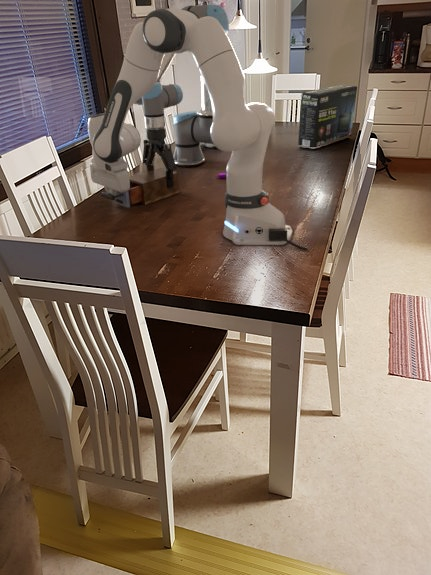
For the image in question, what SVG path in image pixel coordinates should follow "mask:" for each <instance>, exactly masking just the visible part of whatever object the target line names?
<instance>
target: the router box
mask: <svg viewBox="0 0 431 575" xmlns="http://www.w3.org/2000/svg"><path fill="white" fill-rule="evenodd" d="M357 93H358V86H356V85H350V84H339V85H338V84H337V85H334V86H328V87H324V88H318V89H314V90H309V91H304V92H301V93H300V109H299V110H300V111H299V124H298V137H297V146H298V145H302V146H307V147H317V146H320V145H323V144H325V143H328V142H331V141H333V140H336V139H338V138H341V137H344V136H347V135H351V136H352V133H353V132H352V131H353V125H354V115H355V109H356V99H357ZM311 151H313V150H312V149H311Z"/></svg>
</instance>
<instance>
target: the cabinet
mask: <svg viewBox="0 0 431 575" xmlns="http://www.w3.org/2000/svg"><path fill="white" fill-rule="evenodd" d="M166 171H167V169H166V168H163V167H157V168H154V170H151V171H148V172H147V171H145V172H141V173H138V174H135V175H131V176H129V181H130V182H133V183H136V184H139V185H142V192H143V200H144V201H141V202H138V203H139V204H142V205H144V206H146V205H149V204H151V203H155V202H158V201H160V200H163V199H166V198H168V197H172V196H174V195H176V194H177V195H178V194H180V182H179V173H178V172H177V171H175V170H173V186H174V187H171V188H167V181H166Z"/></svg>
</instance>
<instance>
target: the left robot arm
mask: <svg viewBox="0 0 431 575" xmlns="http://www.w3.org/2000/svg"><path fill="white" fill-rule="evenodd" d="M180 10H185V11H187V10H188V11H192V12H195V13H197V14H198V15H199V16H200V17H201V18H202V17H206V16H210V17H214V18H216V19H217V20H218V21H219V23H220V24H221V26H222V27H223V29H224V31H225V33H226V34H227V35H228V34H229V30H230V20H229V17H228V13H227V12H226V10H225V8H224V7H223V6H222V5H219V4H213V3H210V4H200V5H199V4H198V5H197V4H195V5H187V6H184V7H182V8H180ZM176 55H177V53H165V55H164V57H163V60H162V63H161V67H160V71H159V75H158V78H157V81H156V83H155V85H154V87H153V88H152V90H151V91H150V92H148V93H147V94H145V95H144V96H143V97H141V98H140V99H139V100H137V101H136V102H135V103H134V104H133V105H138V106H142V108H143V117H144V126H145V128H146V129H145V137H146V138H145V139H143V151H142V160H141V161H142V164H145V166H146V172H148V171H151V170H154V169H155V167H154V164H153V162H154V159H155V156H156V154H158V156H159V157H160V158H161V161H162V163H163V165H164V167H165V169H167V171H166V181H167V188H171V187H174V186H173V171H177V169H178V167H179V168H194V167H199V166H202V165H204V164H205V163H206V162H205V155H204V153H203V151H202V150H204V149H205V148H206V147H207V146H205V145H204V146H200V143H209V144H214V143H213V141H212V139H211V135H210V129H211V125H212V121H213V114H212V106H211V101H210V97H209V94H208V91H207V88H206V86H205V84H204V81H203V79H202V76H201V74H200V73H199V76H200V77H199V78H200V99H201V100H200V101H201V102H200V103H201V109H200V110H199V111H196V110H191V111H185V112H181V113H176V114H175V115H174V116H173V124H172V126H173V132H174V144H175V149H174V153H173V150H172V144H171V143H166V141H165V140H166V138H167V129H166V117H165V109H167V108H170V107H176V106H177V105H179V104H180V103H181V102H182V101H183V98H184V92H183V89H182V87H181V86H179V85H178V84H176V83H169V84H162V83H161V81H162V80H163V78H164V76H165V74H166V72H167V71H168V69H169V67H170V65H171V63H172V61H173V59H174V58H175V56H176Z"/></svg>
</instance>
